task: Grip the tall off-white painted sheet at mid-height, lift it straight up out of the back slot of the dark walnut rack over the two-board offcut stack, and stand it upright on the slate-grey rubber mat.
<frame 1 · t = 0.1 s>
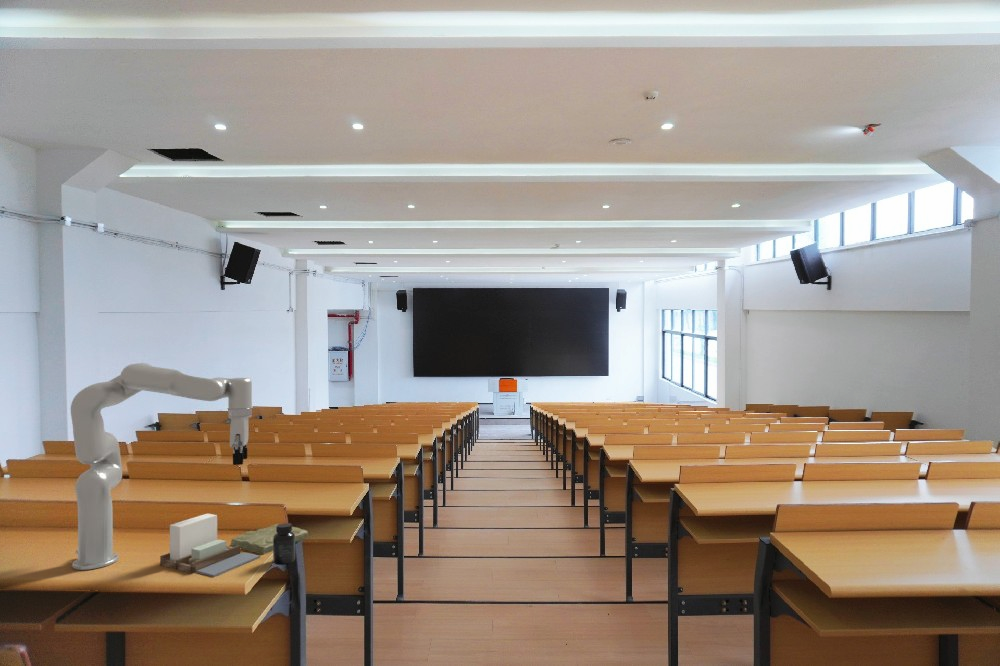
hand: (240, 461, 206), 31 cm above the table, tool pointing down, fingers open, 9 cm apart
offcut upper: (209, 553, 196), point 3 cm above the table, touching offcut lower
mat: (229, 564, 193), on the table
tall sheet: (194, 558, 199), resting in rack
decorative tile: (269, 543, 215), on the table
offcut lower: (209, 562, 196), resting in rack, touching offcut upper
rack: (201, 559, 197), on the table
supplement bottle: (284, 561, 196), on the table
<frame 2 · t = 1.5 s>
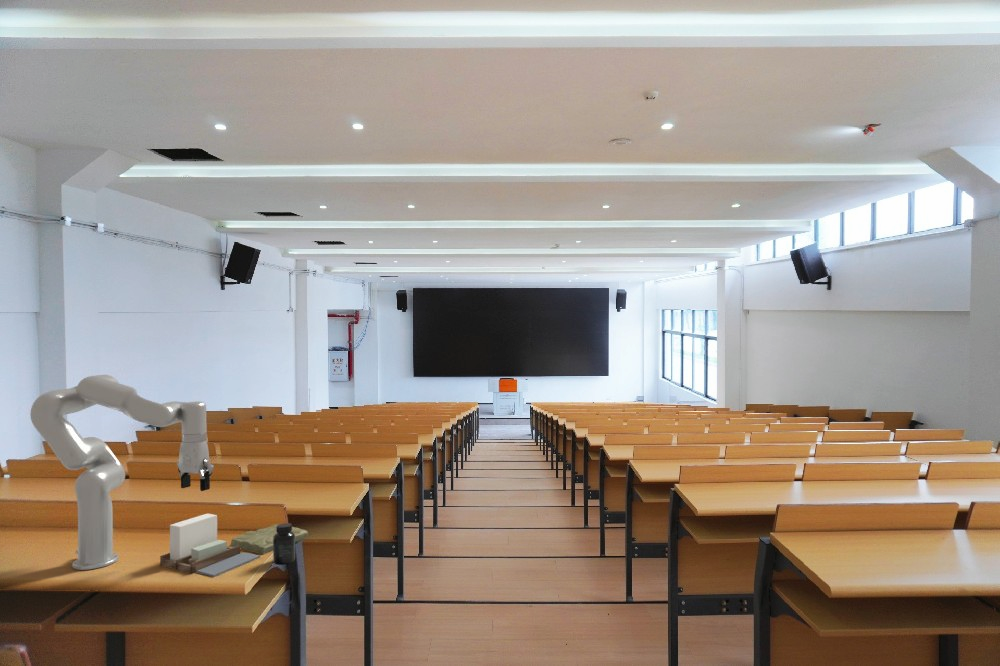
hand: (195, 488, 199), 24 cm above the table, tool pointing down, fingers open, 9 cm apart
nothing on the table moved.
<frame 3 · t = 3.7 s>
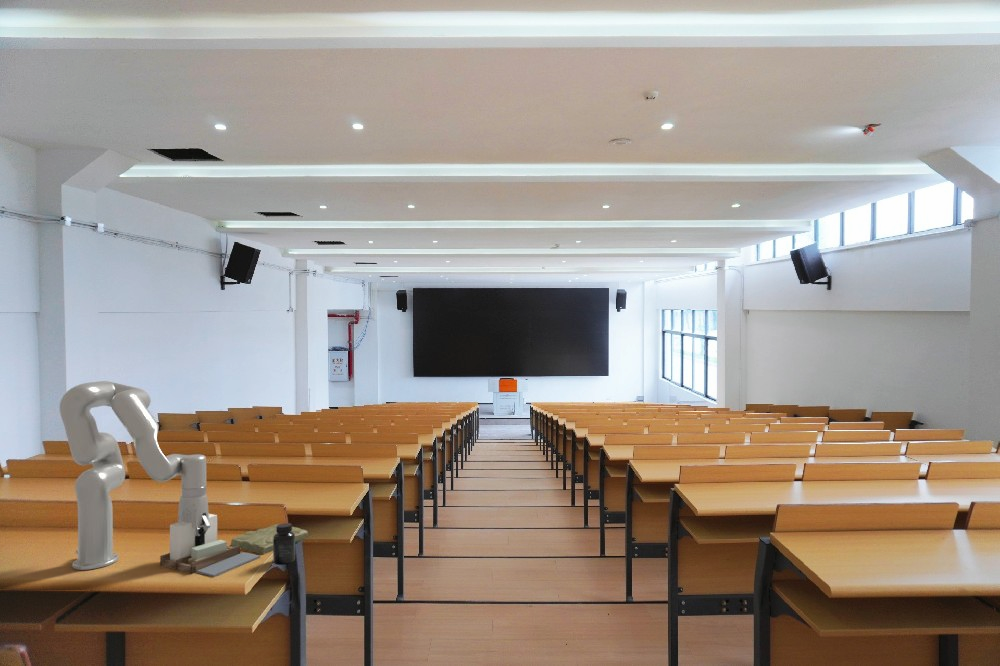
hand: (194, 544, 199), 4 cm above the table, tool pointing down, fingers closed on tall sheet, 4 cm apart
tall sheet: (194, 558, 199), resting in rack, touching gripper
everything else where it was.
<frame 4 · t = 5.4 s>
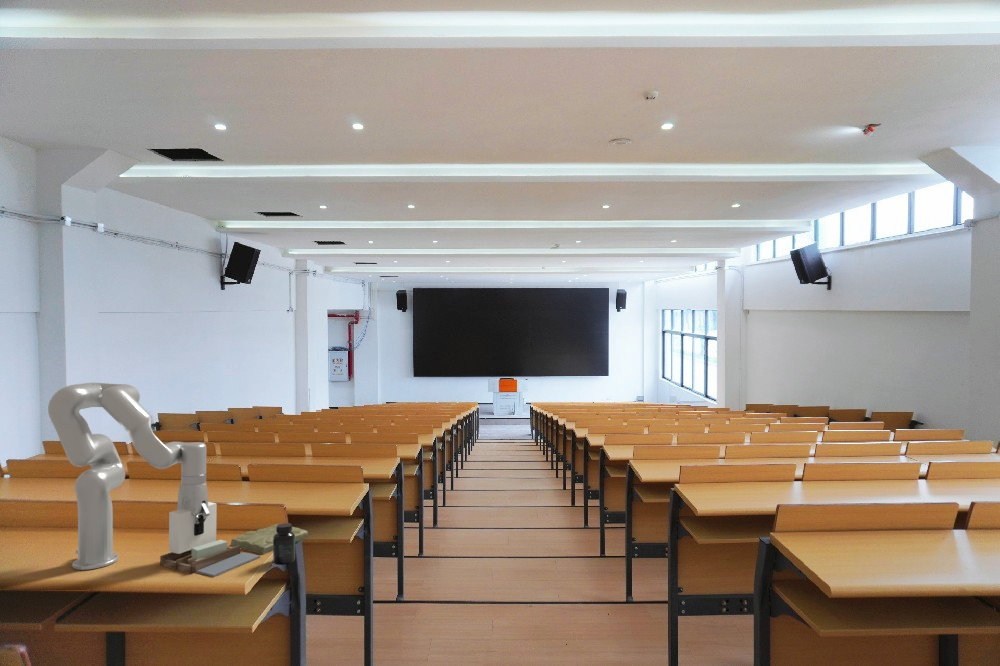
hand: (193, 532, 199), 9 cm above the table, tool pointing down, fingers closed on tall sheet, 4 cm apart
offcut upper: (209, 553, 196), point 3 cm above the table
tall sheet: (193, 546, 199), point 4 cm above the table, touching gripper
offcut lower: (208, 562, 196), resting in rack
everything else where it was.
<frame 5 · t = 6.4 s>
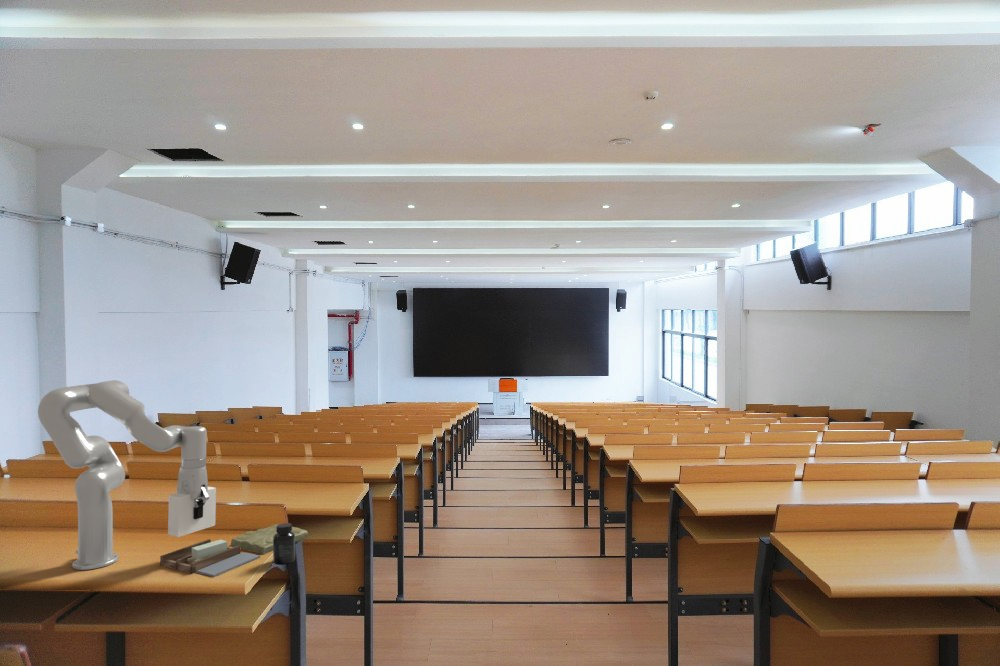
hand: (192, 516, 199), 14 cm above the table, tool pointing down, fingers closed on tall sheet, 4 cm apart
tall sheet: (192, 529, 199), point 10 cm above the table, touching gripper
everything else where it was.
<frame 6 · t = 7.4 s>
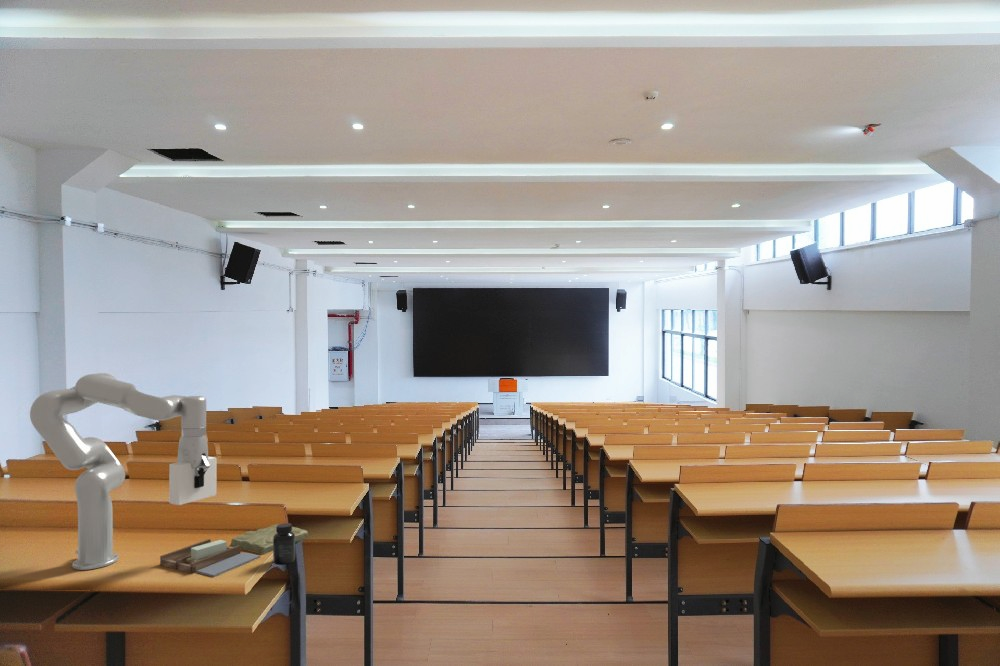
hand: (193, 485, 199), 25 cm above the table, tool pointing down, fingers closed on tall sheet, 4 cm apart
offcut upper: (209, 553, 196), point 3 cm above the table, touching offcut lower
tall sheet: (193, 499, 199), point 20 cm above the table, touching gripper
offcut lower: (207, 562, 196), resting in rack, touching offcut upper
everything else where it was.
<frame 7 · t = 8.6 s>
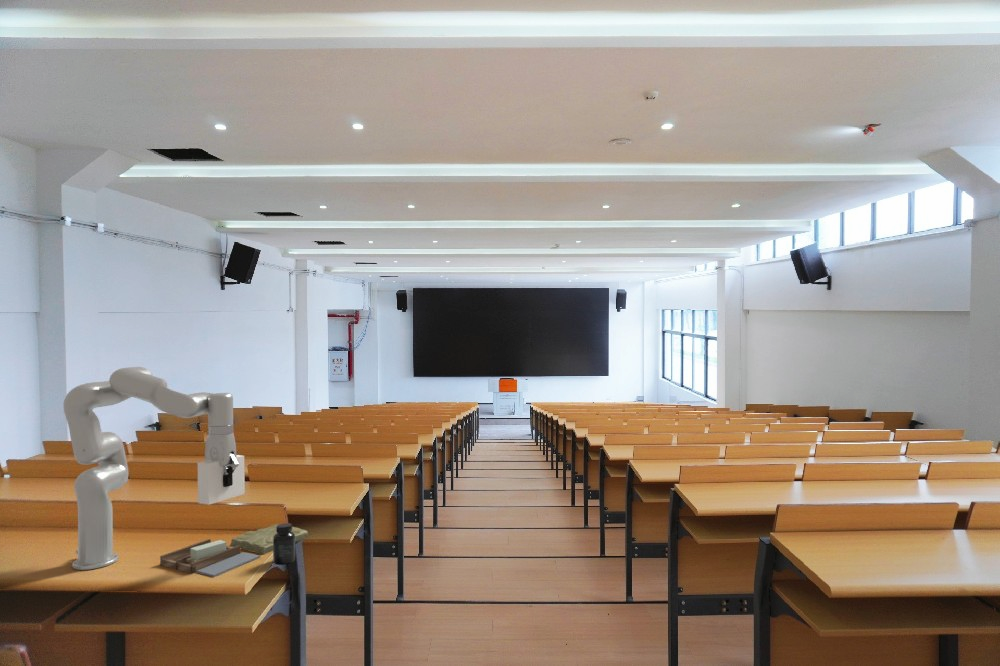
hand: (221, 484, 194), 26 cm above the table, tool pointing down, fingers closed on tall sheet, 4 cm apart
offcut upper: (208, 554, 196), point 3 cm above the table, touching offcut lower, rack
tall sheet: (222, 498, 194), point 21 cm above the table, touching gripper
everything else where it was.
when the fingers open (6 cm above the table, at t = 13.1 s): tall sheet drops 1 cm, resting on mat.
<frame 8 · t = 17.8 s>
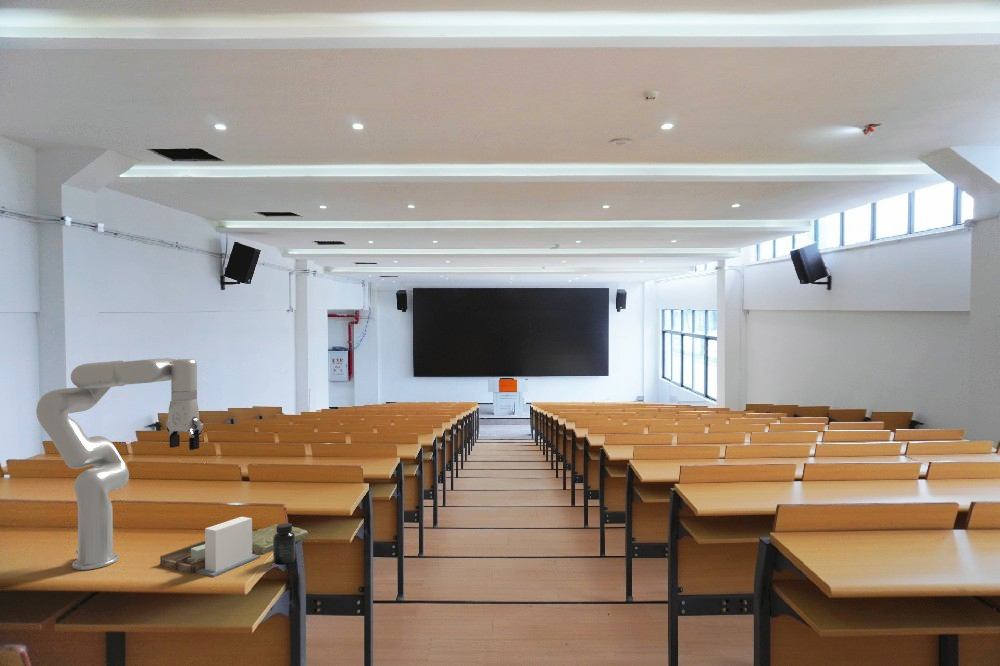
hand: (184, 448, 194), 38 cm above the table, tool pointing down, fingers open, 9 cm apart
offcut upper: (209, 554, 196), point 3 cm above the table, touching offcut lower
tall sheet: (229, 562, 193), point 1 cm above the table, touching mat
everything else where it was.
at the end: tall sheet 0.1 cm from the target spot, point 0.6 cm above the table; tall sheet tilted 0°; offcut upper moved 0.5 cm from its start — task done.
